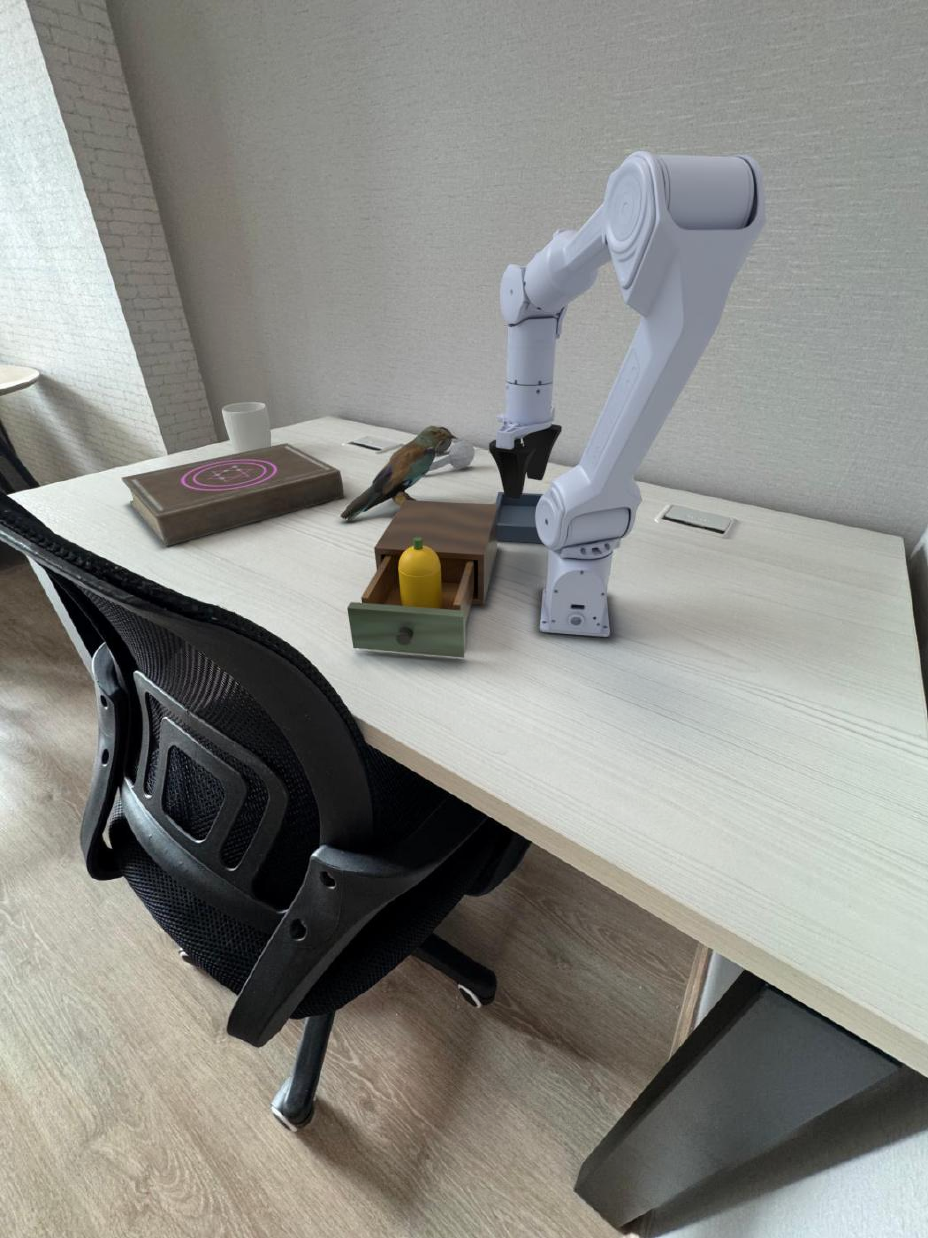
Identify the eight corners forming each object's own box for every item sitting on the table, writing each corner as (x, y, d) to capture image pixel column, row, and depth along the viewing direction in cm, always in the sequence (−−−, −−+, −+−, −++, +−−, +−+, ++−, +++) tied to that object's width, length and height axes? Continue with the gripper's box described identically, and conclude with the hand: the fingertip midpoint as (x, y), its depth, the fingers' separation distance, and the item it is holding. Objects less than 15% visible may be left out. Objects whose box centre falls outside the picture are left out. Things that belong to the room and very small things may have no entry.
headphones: (467, 441, 125) (384, 468, 120) (463, 415, 122) (377, 442, 117) (504, 463, 112) (412, 495, 107) (501, 435, 109) (406, 467, 104)
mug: (281, 455, 122) (272, 407, 116) (240, 464, 118) (228, 414, 112) (261, 442, 130) (251, 396, 125) (222, 449, 126) (210, 403, 121)
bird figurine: (352, 530, 88) (403, 407, 83) (330, 510, 95) (375, 396, 90) (420, 552, 96) (469, 441, 92) (395, 533, 103) (439, 429, 99)
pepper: (438, 620, 64) (434, 549, 59) (397, 617, 65) (390, 547, 60) (445, 598, 68) (443, 530, 63) (407, 595, 69) (401, 528, 64)
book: (291, 467, 116) (287, 442, 113) (345, 497, 101) (341, 470, 98) (131, 504, 100) (121, 477, 97) (167, 547, 85) (156, 516, 82)
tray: (592, 546, 84) (594, 530, 83) (488, 540, 86) (488, 524, 85) (589, 510, 95) (591, 495, 94) (498, 506, 97) (498, 491, 96)
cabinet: (483, 605, 71) (484, 554, 67) (379, 597, 73) (373, 547, 69) (497, 549, 83) (498, 504, 80) (408, 544, 85) (404, 499, 81)
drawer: (462, 664, 59) (461, 623, 56) (349, 654, 61) (343, 614, 58) (481, 589, 72) (481, 552, 69) (388, 582, 74) (384, 546, 71)
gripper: (522, 368, 76) (518, 467, 83) (473, 389, 65) (473, 500, 73) (573, 372, 73) (564, 474, 80) (529, 395, 62) (524, 510, 70)
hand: (524, 487), depth 76 cm, fingers open, 7 cm apart
